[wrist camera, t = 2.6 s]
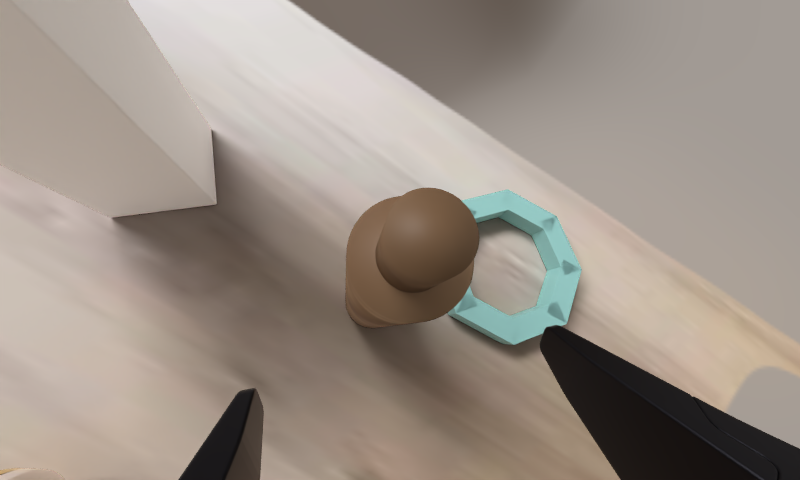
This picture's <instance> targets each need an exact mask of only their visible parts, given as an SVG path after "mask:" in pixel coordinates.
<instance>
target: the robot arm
mask: <svg viewBox="0 0 800 480" xmlns="http://www.w3.org/2000/svg"><path fill="white" fill-rule="evenodd" d="M540 349H541V352H542V354H543V356H544V357H545V359H546V361H547V363H548V365H549V367H550V369H551V370H552V372H553V374H554V376H555V378H556V380H557V382H558V383H559V385H560V387H561V389H562V391H563V392H564V394H565V396H566V397H567V399H568V400H569V402H570V404H571V405H572V407H573V408H574V410H575V411H576V413H577V414H578V416H579V417H580V419H581V420H582V422H583V423H584V425H585V426H586V428H587V429H588V431H589V432H590V434H591V435H592V437H593V438H594V440H595V442H596V443H597V445H598V446H599V448H600V449H601V451H602V452H603V454H604V455H605V457H606V458H607V460H608V461H609V463H610V464H611V466H612V467H613V469H614V470H615V472H616V473H617V475H618V476H619V478H620V479H621V480H800V449H799V448H797V447H795V446H793V445H790V444H788V443H786V442H784V441H782V440H780V439H777V438H776V437H773V436H771V435H769V434H767V433H765V432H763V431H761V430H759V429H757V428H755V427H753V426H750V425H748V424H746V423H744V422H742V421H740V420H738V419H736V418H734V417H732V416H730V415H728V414H726V413H724V412H722V411H721V410H719V409H717V408H715V407H713V406H711V405H709V404H707V403H705V402H703V401H701V400H699V399H698V398H696V397H692V396H691V395H690V394H688V393H686V392H684V391H682V390H680V389H679V388H677V387H675V386H673V385H671V384H669V383H667V382H665V381H663V380H662V379H660V378H658V377H656V376H654V375H652V374H650V373H648V372H646V371H645V370H643V369H641V368H639V367H637V366H635V365H633V364H631V363H629V362H628V361H626V360H624V359H622V358H620V357H618V356H616V355H614V354H612V353H610V352H609V351H607V350H605V349H603V348H601V347H599V346H597V345H595V344H593V343H592V342H590V341H588V340H586V339H584V338H582V337H580V336H578V335H576V334H575V333H573V332H571V331H569V330H567V329H565V328H563V327H561V326H559V325H553V326H548V327H546V328H545V329H544V332H543V335H542V338H541V341H540ZM263 416H264V411H263V405H262V402H261V399H260V397H259V394H258V391H257V390H256V389H255V388H252V389H247V390H242V391H240V392H238V393H237V395H236V396H235V398H234V399H233V400H232V402H231V403H230V405H229V406H228V408H227V409H226V411H225V412H224V414H223V415H222V417H221V418H220V420H219V421H218V423H217V424H216V425H215V427H214V428H213V430H212V431H211V433H210V434H209V436H208V437H207V439H206V440H205V442H204V443H203V445H202V446H201V447H200V449H199V450H198V452H197V453H196V455H195V456H194V458H193V459H192V461H191V462H190V464H189V465H188V467H187V468H186V470H185V471H184V472H183V474H182V475H181V477H180V478H179V480H260V470H261V453H262V434H263Z"/></svg>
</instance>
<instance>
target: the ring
mask: <svg viewBox="0 0 800 480" xmlns="http://www.w3.org/2000/svg"><path fill="white" fill-rule="evenodd" d="M0 480H65V479H64V478H63V476H62V475H61V474H59V473H58V472H56V471H53V470H48V469H36V468H12V469H4V470H0Z"/></svg>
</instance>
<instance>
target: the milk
mask: <svg viewBox="0 0 800 480" xmlns="http://www.w3.org/2000/svg"><path fill="white" fill-rule="evenodd" d="M0 165H1V166H3V167H5V168H8V169H10V170H12V171H14V172H16V173H18V174H20V175H22V176H24V177H26V178H28V179H30V180H32V181H34V182H37V183H39V184H41V185H43V186H45V187H47V188H49V189H51V190H53V191H55V192H57V193H59V194H61V195H63V196H66V197H68V198H70V199H72V200H74V201H76V202H78V203H80V204H82V205H84V206H86V207H88V208H90V209H92V210H95V211H97V212H99V213H101V214H103V215H105V216H107V217H110V218H112V217H120V216H128V215H136V214H144V213H152V212H160V211H168V210H176V209H184V208H192V207H200V206H208V205H215V204H217V199H216V186H215V172H214V159H213V146H212V132H211V127H210V125H209V124H208V122H207V121H206V119H205V118H204V116H203V115H202V113H201V111H200V110H199V108H198V107H197V105H196V104H195V102H194V101H193V99H192V98H191V96H190V95H189V93H188V92H187V90H186V89H185V87H184V86H183V84H182V83H181V81H180V80H179V78H178V76H177V75H176V73H175V72H174V70H173V69H172V67H171V66H170V64H169V63H168V61H167V60H166V58H165V57H164V55H163V54H162V52H161V51H160V49H159V48H158V46H157V45H156V43H155V41H154V40H153V38H152V37H151V35H150V34H149V32H148V31H147V29H146V28H145V26H144V25H143V23H142V22H141V20H140V19H139V17H138V16H137V14H136V13H135V11H134V9H133V8H132V6H131V5H130V3H129V2H128V0H0Z"/></svg>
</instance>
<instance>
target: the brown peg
mask: <svg viewBox="0 0 800 480" xmlns="http://www.w3.org/2000/svg"><path fill="white" fill-rule="evenodd" d="M478 245H479V231H478V226H477V223H476V220H475V218H474V216H473V214H472V213H471V211H470V210H469V208H468V207H467V206H466V205H465V204H464V203H463V202H462V201H461V200H460V199H459V198H457V197H456V196H454V195H453V194H451V193H449V192H446V191H444V190H440V189H436V188H420V189H416V190H412V191H410V192H408V193H406V194H404V195H403V196H399V197H393V198H389V199H386V200H383V201H381V202H379V203H377V204H375V205H374V206H372V207H371V208H369V209H368V210H367V211H366V212H365V213H364V214H363V215H362V216H361V217H360V218H359V220H358V221H357V222H356V224H355V226H354V227H353V229H352V231H351V234H350V237H349V240H348V245H347V254H346V308H347V311H348V313H349V315H350V317H351V318H352V319H353V320H354V321H355V322H356V323H358V324H359V325H361V326H364V327H368V328H377V327H385V326H394V325H402V324H410V323H419V322H426V321H430V320H434V319H436V318H438V317H441V316H443V315H444V314H446V313H448V312H449V311H450V310H452V309H453V308H454V307H455V306H456V305H457V304H458V303H459V302H460V301H461V300H462V298H463V297H464V295H465V294H466V292H467V290H468V288H469V285H470V283H471V280H472V275H473V269H474V258H475V256H476V253H477V250H478Z"/></svg>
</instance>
